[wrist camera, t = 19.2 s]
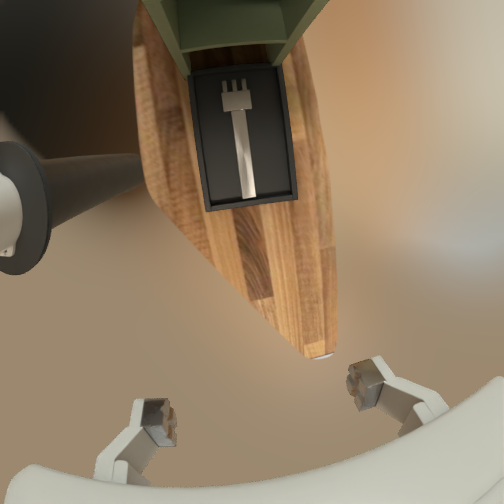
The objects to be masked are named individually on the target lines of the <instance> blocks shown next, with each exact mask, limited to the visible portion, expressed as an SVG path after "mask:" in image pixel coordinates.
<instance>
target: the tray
mask: <svg viewBox="0 0 504 504" xmlns="http://www.w3.org/2000/svg"><path fill="white" fill-rule="evenodd" d="M190 73H191V75H187V78H188V87H189V96H190V104H191V112H192V120H193V128H194V136H195V143H196V150H197V157H198V164H199V171H200V177H201V184H202V190H203V197H204V203H205V209H206V212H211V211H218V210H224V209H231V208H238V207H245V206H252V205H259V204H267V203H274V202H282V201H290V200H298V193H297V182H296V171H295V161H294V152H293V143H292V134H291V126H290V118H289V110H288V103H287V96H286V89H285V82H284V75H283V69H282V63H281V65H280V66H272V63H253V64H241V65H231V66H222V67H215V68H207V69H201V70H195V71H190ZM241 79H245V80H246V87H247V90H250V97H251V104H252V109H251V110H245V113H246V120H247V128H248V135H249V143H250V151H251V159H252V166H253V174H254V182H255V190H256V197H254V198H246V199H243V198H242V193H241V185H240V178H239V171H238V163H237V156H236V148H235V141H234V133H233V126H232V118H231V112H229V113H224V111H223V103H222V96H221V93H223V87H222V81H226V85H227V92H231V91H233V89H232V82H231V81H232V80H236V86H237V91H240V90H242V84H241Z"/></svg>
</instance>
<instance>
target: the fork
mask: <svg viewBox="0 0 504 504" xmlns="http://www.w3.org/2000/svg"><path fill="white" fill-rule="evenodd" d="M231 82H232V89H233V91H231V92H227V85H226V81H222V87H223V93H221V96H222V103H223V111H224V113H229V112H231V118H232V126H233V133H234V141H235V148H236V156H237V163H238V171H239V178H240V185H241V193H242V198H243V199H246V198H254V197H256V190H255V182H254V174H253V166H252V159H251V151H250V143H249V135H248V128H247V120H246V113H245V110H251V109H252V104H251V97H250V90H247V87H246V80H245V79H241V84H242V90H240V91H237V86H236V80H232V81H231Z"/></svg>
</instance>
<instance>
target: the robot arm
mask: <svg viewBox="0 0 504 504" xmlns="http://www.w3.org/2000/svg"><path fill="white" fill-rule="evenodd" d="M22 220H23V212H22V204H21V200H20V196H19V193H18V191H17V189H16V187H15V185H14V184H13V182H12V181H11V180H10V179H9V178H7V177H6V176H4V175H2V174H1V173H0V256H7V257H11V256H13V255H14V254H15V247H16V241H17V239H18V237H19V234H20V232H21V228H22ZM348 371H349V372H350V374H349V375H348V376H347V380H346V383H347V388H348V391H349V393H350V395H352V396H354V397H355V400H354V403H355V404H356V406H357V408H358V410H359V411H363V410H366V409H369V408H372V407H374V406H376V408H378V409H380V410H381V411H383V412H384V413H386V414H388V415H390V416H391V417H393V418H394V419H396V420H398V421H400V422H401V423H403V426H402V428H401V429H400V431H399V433H398V435H399V438H397V439H395V440H393V441H391V442H388V443H386V444H384V445H382V446H379V447H377V448H374V449H372V450H369V451H367V452H365V453H362V454H359V455H357V456H354V457H351V458H348V459H345V460H342V461H340V462H336V463H333V464H330V465H327V466H324V467H320V468H317V469H313V470H309V471H305V472H301V473H297V474H293V475H289V476H284V477H279V478H273V479H268V480H262V481H256V482H249V483H241V484H232V485H221V486H207V487H156V486H150V482H149V481H148V480H147V479H146V478H145V477H144V476H142V475H141V473H142V472H143V470H144V469H145V467H146V466H147V465H148V463H149V462H150V460H151V459H152V457H153V456H154V454H155V453H156V451H157V450H158V448H159V447H171V446H176V436H177V435H176V433H175V431H174V429H175V428H176V427H177V419H176V414H175V411H174V409H173V408H172V407H170V402H169V400H168V398H161V399H160V398H159V399H158V398H157V399H135V400H134V402H133V407H132V412H131V418H130V423H129V427H126V428H125V429H124V430H123V431H122V432H121V433H120V434H119V435H118V436H117V437H116V438H115V439H114V440H113V441H112V442H111V443H110V444H109V445H108V446H107V447H106V448H105V449H104V450H103V451H102V452H101V453H100V454H99V455H98V457H97V460H96V465H95V471H94V476H93V479H91V478H86V477H82V476H77V475H73V474H69V473H65V472H61V471H58V470H54V469H51V468H47V467H44V466H41V465H38V464H31V465H29V466H27V467H26V468H24V469H23V470H21V471H20V472H19V473H18V474H16V475H15V476H14V477H13V478H12V480H11V482H10V484H9V487H8V490H7V493H6V496H5V500H4V504H504V377H500V376H497V377H495V378H493V379H492V380H491V381H490V382H488V383H487V384H485V385H484V386H483V387H482V388H480V389H479V390H478V391H476V392H475V393H473V394H472V395H471V396H469V397H468V398H466V399H465V400H463V401H462V402H461V403H459V404H458V405H456V406H454V407H453V408H451V409H450V408H449V407H448V406H447V404H446V403H445V401H444V400H443V399H442V398H441V396H440V395H439V394H438V392H435V391H433V390H430V389H428V388H425V387H423V386H420V385H418V384H415V383H413V382H411V381H408V380H405V379H403V378H401V377H397V378H396V376H395V375H394V374H393V372H392V371H391V370H390V368H389V367H388V366H387V364H386V363H385V362H384V360H383V359H382V357H381V356H376V357H373V358H370V359H366V360H363V361H360V362H358V363H354V364H351V365H350V366H349V369H348Z"/></svg>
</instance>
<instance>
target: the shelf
mask: <svg viewBox="0 0 504 504" xmlns="http://www.w3.org/2000/svg"><path fill="white" fill-rule="evenodd" d="M141 1H142V2H143V4H144V6H145V8H146V10H147V11H148V13H149V15H150V17H151V19H152V21H153V22H154V24H155V26H156V28H157V30H158V32H159V33H160V35H161V37H162V39H163V41H164V43H165V44H166V46H167V48H168V50H169V52H170V54H171V56H172V57H173V59H174V61H175V63H176V65H177V67H178V69H179V71H180V73H181V74H182V76H183V78H184V80H188V78H187V75H191V73H190V71H191V62H190V52H191V51H197V50H203V49H210V48H218V47H226V46H237V45H249V44H265V45H266V51H267V58H268V63H272V66H280V65H281V63H282V62H283V60H284V59H285V58H286V56H287V55H288V53H289V52H290V51H291V49H292V48H293V47H294V45H295V44H296V42H297V41H298V40H299V38H300V37H301V36H302V34H303V33H304V32H305V30H306V29H307V28H308V27H309V25H310V24H311V23H312V21H313V20H314V19H315V18H316V16H317V15H318V14H319V13H320V11H321V10H322V9H323V8H324V6H325V5H326V4H327V3H328V1H329V0H141Z"/></svg>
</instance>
